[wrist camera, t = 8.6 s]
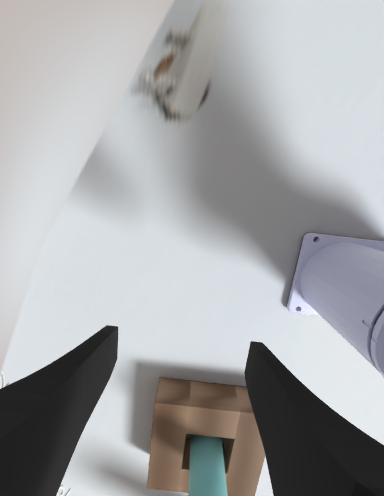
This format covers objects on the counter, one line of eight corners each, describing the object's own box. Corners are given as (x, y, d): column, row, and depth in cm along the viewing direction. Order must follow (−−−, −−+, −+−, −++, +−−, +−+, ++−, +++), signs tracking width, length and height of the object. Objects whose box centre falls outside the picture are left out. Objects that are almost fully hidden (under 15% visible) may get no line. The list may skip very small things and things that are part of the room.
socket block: (265, 389, 24) (275, 415, 21) (247, 466, 27) (253, 499, 24) (159, 377, 24) (154, 402, 21) (152, 456, 27) (146, 488, 24)
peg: (213, 408, 25) (220, 505, 17) (224, 430, 25) (236, 532, 18) (185, 417, 25) (181, 516, 17) (197, 438, 26) (198, 542, 18)
